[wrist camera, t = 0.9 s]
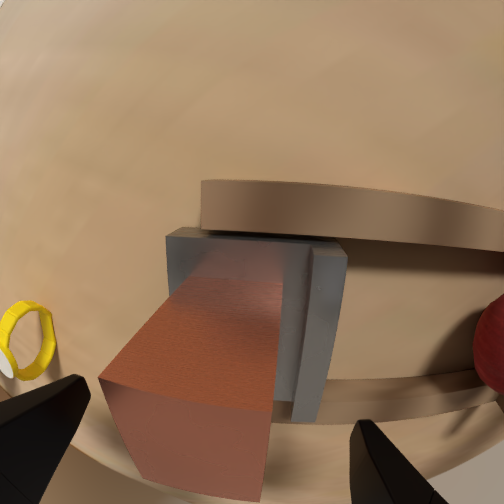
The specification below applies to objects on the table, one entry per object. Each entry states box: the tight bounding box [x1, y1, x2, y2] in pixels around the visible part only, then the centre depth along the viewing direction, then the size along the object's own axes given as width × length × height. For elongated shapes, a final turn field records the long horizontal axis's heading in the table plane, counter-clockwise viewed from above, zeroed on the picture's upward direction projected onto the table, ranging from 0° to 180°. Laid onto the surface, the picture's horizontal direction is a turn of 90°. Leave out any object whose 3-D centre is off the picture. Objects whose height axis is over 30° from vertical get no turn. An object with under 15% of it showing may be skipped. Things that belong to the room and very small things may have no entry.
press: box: [98, 227, 348, 502], centre depth 10 cm, size 7×8×9 cm
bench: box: [201, 180, 504, 425], centre depth 11 cm, size 22×13×6 cm, turn 88°
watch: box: [0, 300, 56, 381], centre depth 15 cm, size 6×3×6 cm, turn 169°
